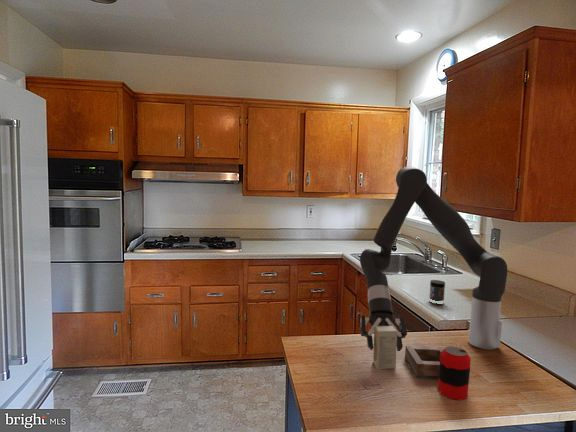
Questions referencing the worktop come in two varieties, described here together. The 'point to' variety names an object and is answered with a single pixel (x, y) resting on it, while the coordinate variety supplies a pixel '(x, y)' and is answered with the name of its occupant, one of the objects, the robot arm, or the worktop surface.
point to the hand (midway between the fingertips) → (385, 349)
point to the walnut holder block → (424, 361)
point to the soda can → (454, 373)
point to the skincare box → (385, 347)
